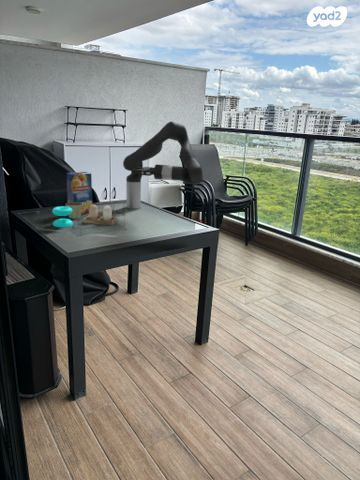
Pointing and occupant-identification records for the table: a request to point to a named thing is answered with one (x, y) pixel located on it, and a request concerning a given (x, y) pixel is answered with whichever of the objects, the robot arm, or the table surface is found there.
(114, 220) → the egg holder
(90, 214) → the brown egg
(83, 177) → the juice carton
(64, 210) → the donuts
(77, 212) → the flower pot
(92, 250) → the table surface
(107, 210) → the cream egg
